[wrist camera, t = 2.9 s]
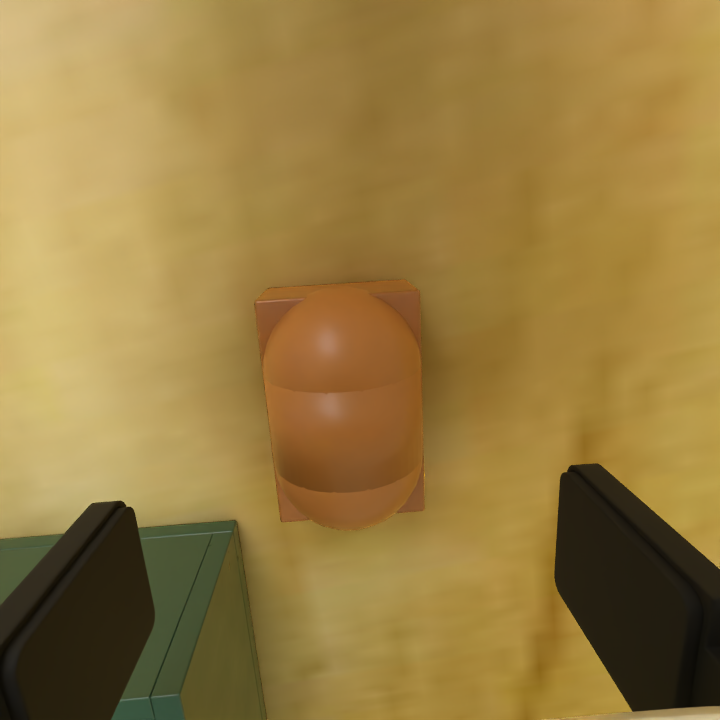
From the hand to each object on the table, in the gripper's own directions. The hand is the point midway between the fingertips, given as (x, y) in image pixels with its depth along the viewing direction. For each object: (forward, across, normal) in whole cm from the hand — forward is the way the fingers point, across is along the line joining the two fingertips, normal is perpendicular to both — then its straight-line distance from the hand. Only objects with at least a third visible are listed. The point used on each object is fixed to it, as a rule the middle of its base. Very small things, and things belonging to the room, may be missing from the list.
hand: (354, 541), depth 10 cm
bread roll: (+9, 0, -1) cm, 9 cm away
